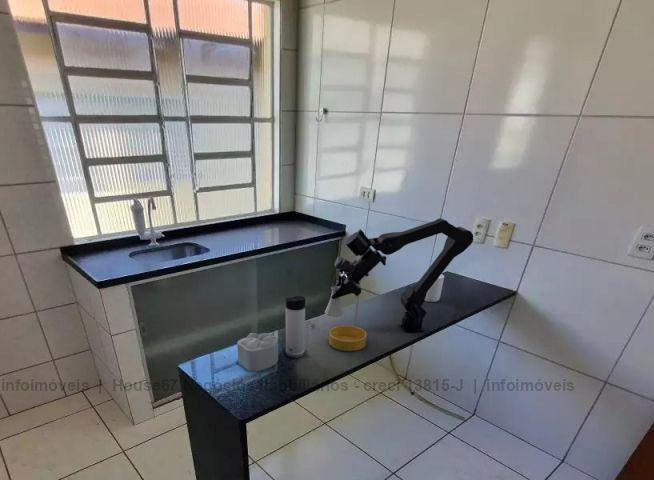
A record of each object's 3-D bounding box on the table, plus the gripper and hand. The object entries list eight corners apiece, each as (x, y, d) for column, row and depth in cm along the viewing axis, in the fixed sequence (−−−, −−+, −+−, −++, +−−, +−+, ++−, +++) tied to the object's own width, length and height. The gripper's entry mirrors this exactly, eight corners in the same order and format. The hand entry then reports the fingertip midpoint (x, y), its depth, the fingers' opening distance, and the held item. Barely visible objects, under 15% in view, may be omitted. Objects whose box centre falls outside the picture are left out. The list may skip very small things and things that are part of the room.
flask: (344, 317, 146) (346, 290, 141) (324, 317, 147) (325, 290, 141) (343, 310, 152) (345, 284, 147) (324, 309, 153) (325, 283, 147)
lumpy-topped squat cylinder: (234, 360, 133) (232, 336, 128) (267, 349, 140) (266, 326, 135) (252, 373, 126) (250, 348, 121) (285, 361, 133) (285, 337, 128)
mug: (447, 297, 182) (452, 273, 176) (432, 304, 175) (437, 279, 170) (430, 292, 188) (434, 269, 182) (415, 298, 181) (419, 275, 175)
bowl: (360, 334, 150) (361, 324, 147) (369, 351, 139) (371, 340, 136) (325, 336, 149) (326, 326, 146) (332, 352, 138) (332, 342, 135)
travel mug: (291, 359, 133) (291, 302, 123) (282, 351, 138) (282, 295, 128) (308, 355, 136) (309, 298, 125) (298, 347, 141) (299, 292, 130)
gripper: (344, 242, 145) (313, 273, 151) (354, 255, 129) (318, 290, 135) (364, 263, 149) (333, 293, 155) (376, 279, 134) (341, 312, 139)
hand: (331, 296), depth 146 cm, fingers closed on flask, 3 cm apart
